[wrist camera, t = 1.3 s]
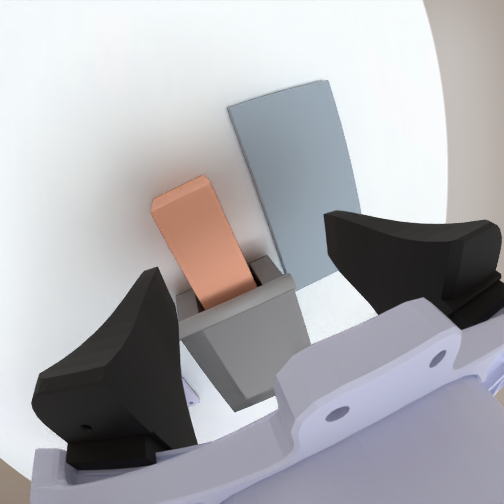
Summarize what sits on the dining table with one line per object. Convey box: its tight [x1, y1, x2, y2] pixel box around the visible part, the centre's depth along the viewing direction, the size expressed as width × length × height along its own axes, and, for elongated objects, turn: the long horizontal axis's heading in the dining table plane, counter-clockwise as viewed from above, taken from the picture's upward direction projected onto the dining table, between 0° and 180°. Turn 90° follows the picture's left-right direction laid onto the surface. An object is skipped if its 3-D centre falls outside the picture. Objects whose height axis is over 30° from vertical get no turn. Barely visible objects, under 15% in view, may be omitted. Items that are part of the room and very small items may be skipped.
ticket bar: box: [151, 175, 257, 310], centre depth 21 cm, size 4×12×4 cm, turn 21°
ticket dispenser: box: [176, 255, 311, 412], centre depth 24 cm, size 9×11×6 cm
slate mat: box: [227, 80, 361, 291], centre depth 23 cm, size 8×16×1 cm, turn 19°
